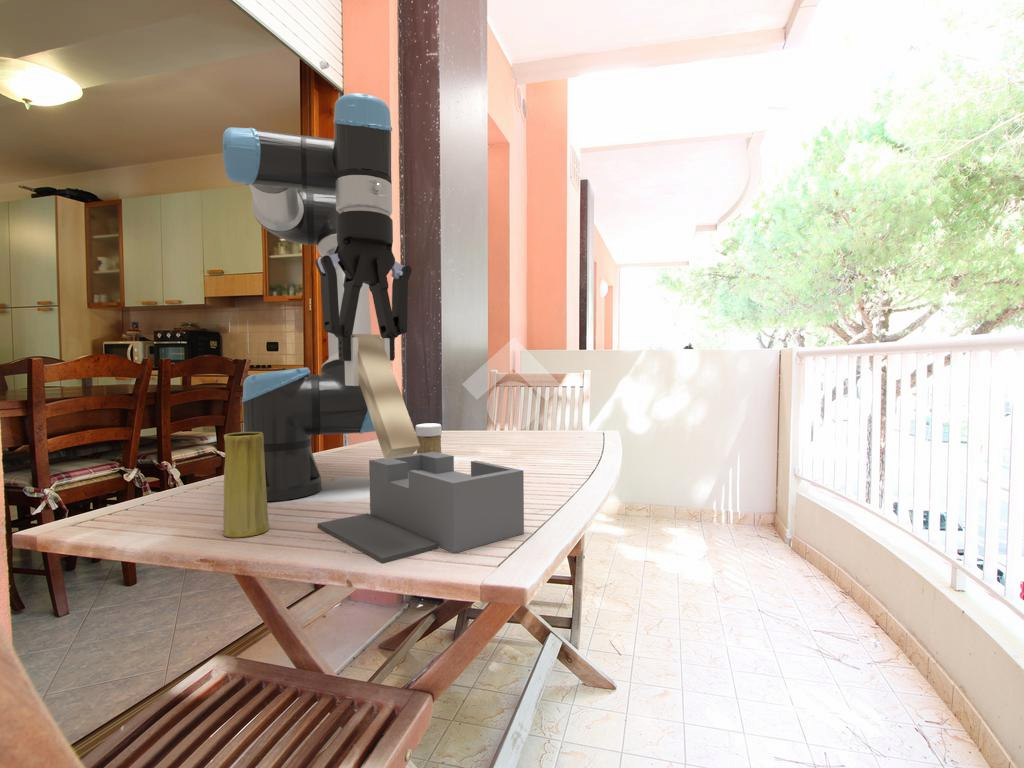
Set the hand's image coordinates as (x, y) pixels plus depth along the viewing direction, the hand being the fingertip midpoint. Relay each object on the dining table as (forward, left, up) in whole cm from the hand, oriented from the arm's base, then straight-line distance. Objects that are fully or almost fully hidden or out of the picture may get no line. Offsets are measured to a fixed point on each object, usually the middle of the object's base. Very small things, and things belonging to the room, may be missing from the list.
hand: (367, 384), depth 78 cm
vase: (-14, -12, -22) cm, 29 cm away
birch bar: (+3, 0, -2) cm, 3 cm away
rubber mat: (+1, 0, -21) cm, 21 cm away
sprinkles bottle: (-12, +18, -22) cm, 30 cm away
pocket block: (+3, +11, -21) cm, 24 cm away
